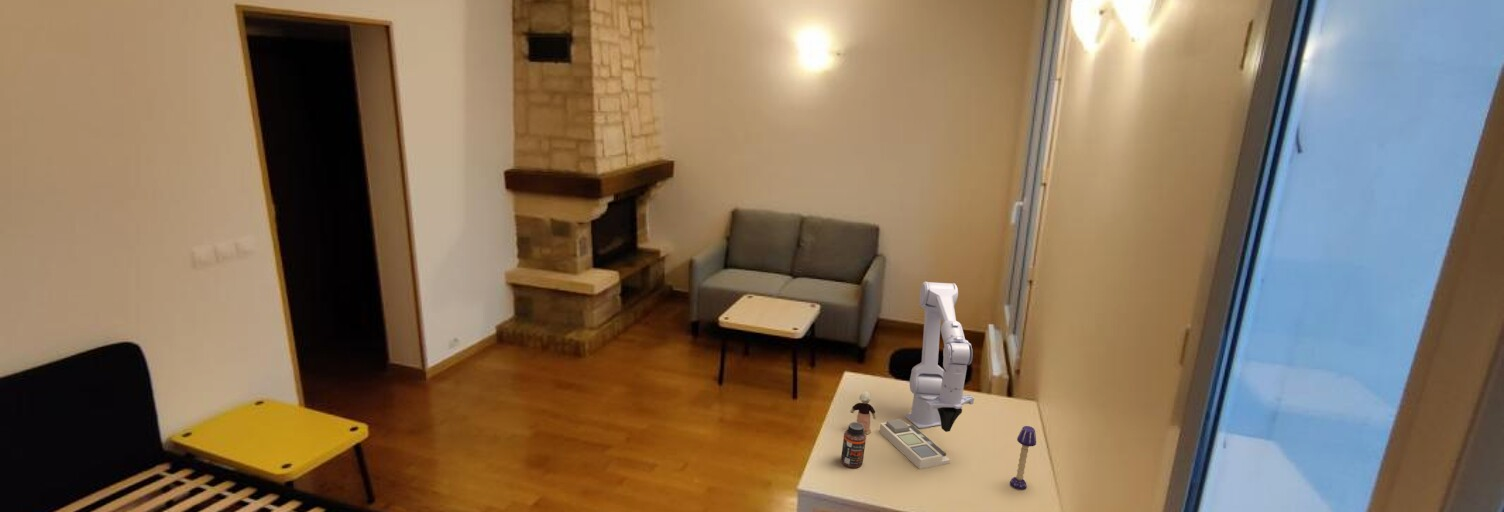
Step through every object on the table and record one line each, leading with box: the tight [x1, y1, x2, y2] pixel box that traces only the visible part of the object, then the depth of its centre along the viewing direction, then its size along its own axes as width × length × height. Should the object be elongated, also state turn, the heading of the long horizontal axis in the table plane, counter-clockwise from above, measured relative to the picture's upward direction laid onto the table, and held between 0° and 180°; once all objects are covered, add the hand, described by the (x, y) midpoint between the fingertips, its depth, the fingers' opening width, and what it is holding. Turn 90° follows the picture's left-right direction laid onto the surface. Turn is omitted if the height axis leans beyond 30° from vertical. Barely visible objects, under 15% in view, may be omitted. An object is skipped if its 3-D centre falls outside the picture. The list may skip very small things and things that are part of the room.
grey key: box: [886, 418, 910, 434], centre depth 206 cm, size 5×5×1 cm
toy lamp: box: [1009, 425, 1037, 490], centre depth 184 cm, size 5×5×17 cm
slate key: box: [912, 446, 936, 458], centre depth 195 cm, size 5×5×1 cm
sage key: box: [898, 434, 922, 446], centre depth 200 cm, size 5×5×1 cm
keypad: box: [879, 421, 951, 470], centre depth 201 cm, size 10×20×3 cm, turn 23°
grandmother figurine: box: [849, 391, 878, 435], centre depth 206 cm, size 8×4×13 cm, turn 84°
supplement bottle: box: [840, 421, 867, 469], centre depth 190 cm, size 6×6×11 cm
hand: (945, 429), depth 193 cm, fingers closed
